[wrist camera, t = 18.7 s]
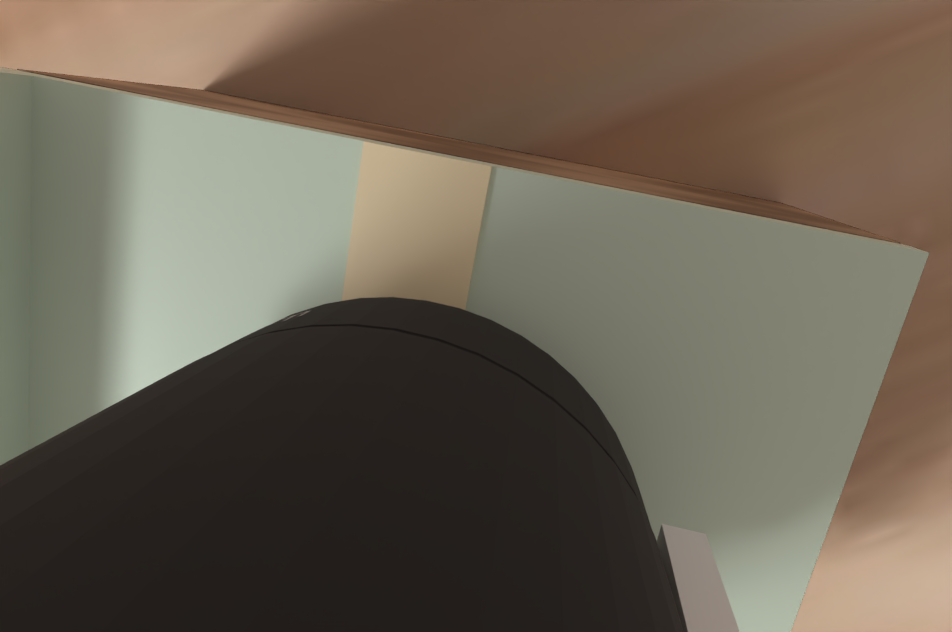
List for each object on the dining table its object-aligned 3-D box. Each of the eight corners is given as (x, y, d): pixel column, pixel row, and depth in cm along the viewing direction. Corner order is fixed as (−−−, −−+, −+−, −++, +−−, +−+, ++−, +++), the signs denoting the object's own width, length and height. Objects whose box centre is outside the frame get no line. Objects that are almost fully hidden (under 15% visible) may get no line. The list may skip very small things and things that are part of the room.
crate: (174, 460, 26) (14, 594, 18) (201, 89, 22) (17, 69, 15) (669, 576, 24) (713, 772, 17) (782, 203, 21) (901, 243, 13)
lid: (5, 601, 18) (-103, 691, 15) (6, 68, 14) (-135, 52, 11) (716, 783, 17) (747, 920, 14) (908, 245, 13) (1004, 277, 10)
